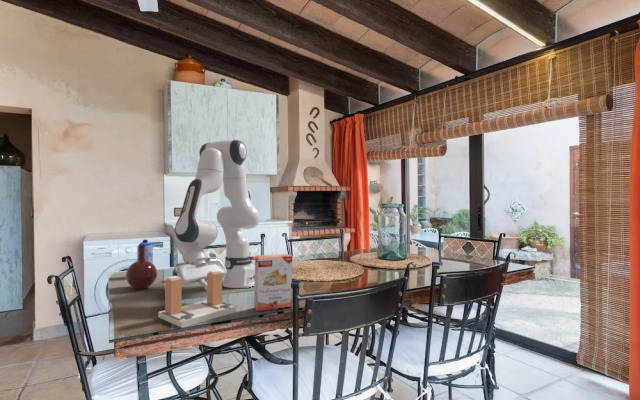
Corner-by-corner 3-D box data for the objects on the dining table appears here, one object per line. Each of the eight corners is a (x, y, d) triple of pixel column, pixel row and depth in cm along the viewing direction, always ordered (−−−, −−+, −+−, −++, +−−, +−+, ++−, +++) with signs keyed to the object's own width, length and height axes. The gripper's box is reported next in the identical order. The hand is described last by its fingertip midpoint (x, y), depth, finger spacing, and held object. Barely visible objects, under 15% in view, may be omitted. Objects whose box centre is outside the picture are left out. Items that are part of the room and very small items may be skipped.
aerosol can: (140, 275, 199) (140, 238, 198) (155, 275, 200) (155, 238, 199) (134, 278, 191) (134, 240, 191) (150, 278, 192) (150, 240, 192)
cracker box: (257, 312, 139) (258, 257, 139) (253, 307, 145) (254, 255, 144) (292, 308, 145) (292, 255, 145) (287, 303, 150) (287, 253, 150)
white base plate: (210, 303, 149) (210, 296, 149) (235, 312, 139) (235, 304, 139) (158, 317, 132) (158, 309, 132) (182, 327, 122) (182, 318, 122)
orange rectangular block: (175, 310, 134) (175, 275, 134) (181, 312, 132) (181, 277, 131) (165, 312, 131) (165, 277, 131) (170, 315, 128) (171, 278, 128)
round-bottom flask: (137, 293, 163) (137, 249, 163) (119, 289, 170) (119, 246, 169) (163, 287, 175) (163, 245, 174) (145, 283, 181) (145, 243, 181)
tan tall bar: (215, 301, 145) (216, 269, 145) (221, 303, 143) (222, 270, 143) (207, 303, 142) (207, 271, 142) (213, 305, 140) (213, 272, 140)
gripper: (175, 259, 141) (189, 289, 134) (220, 253, 156) (234, 279, 150) (169, 269, 143) (182, 299, 137) (214, 262, 159) (227, 288, 153)
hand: (210, 288), depth 144 cm, fingers closed, pressing on tan tall bar
